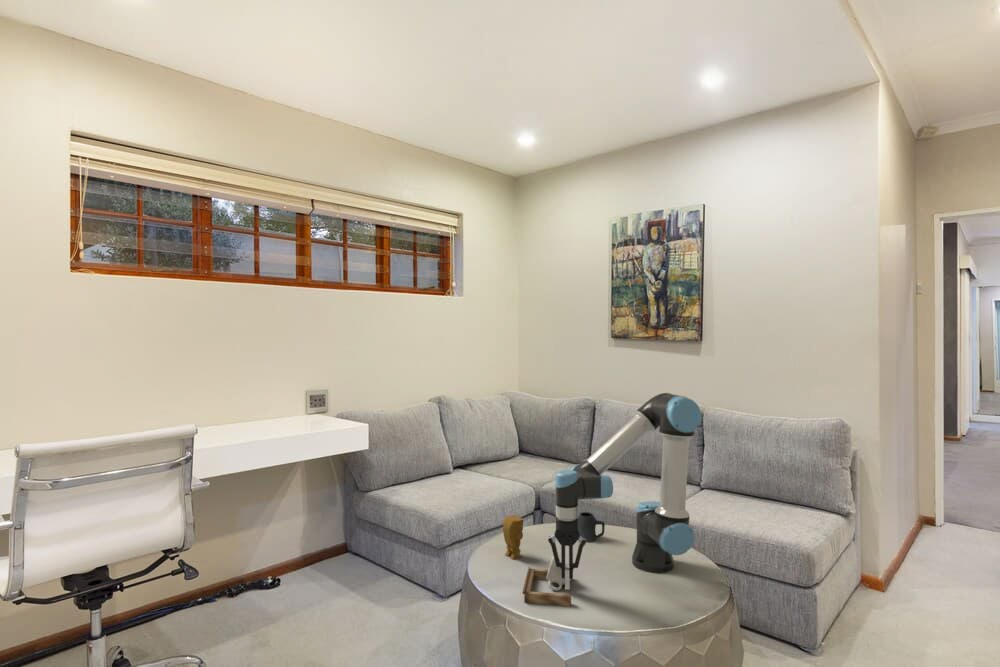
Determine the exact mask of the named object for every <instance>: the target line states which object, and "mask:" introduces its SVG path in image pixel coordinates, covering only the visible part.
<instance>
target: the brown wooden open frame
mask: <svg viewBox="0 0 1000 667" xmlns="http://www.w3.org/2000/svg"><path fill="white" fill-rule="evenodd" d="M548 570H549V569H542V568H531V566H528V568H527V571H526V572H527V573H526V577H525V581H524V585H523V588H522V595H524V598H523V599H524V601H523V602H524V603H527V604H540V605H553V606H563V605H564V606H565V607H571V606H572V594H568V593H557V592H541V591H540V592H539V591H532V590H533V586H534V580H546V577H547V573H548ZM571 581H573V578H572V579H571V580H570V582H571Z"/></svg>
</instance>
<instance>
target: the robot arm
mask: <svg viewBox="0 0 1000 667" xmlns="http://www.w3.org/2000/svg"><path fill="white" fill-rule="evenodd" d="M634 413H635V414H634V416H633V417H632V418H631V419H630V420H629V421H627V422H626V423H625V425H623V426H622V427H621V428H620V429H618V431H617V432H615V433H614V434H613V435H612V436H611V437H610V438H609V439H608V440H607V441H605V442H604V443H603V444H602V445H601V446H600V447H599V448H597V450H595V452H594V453H592V454H591V455H590V456H588V458H587V459H586V460H584V461H583V462H582V463H579V464H575V465H573V466H572V467H571V468H570V469H562V470H558V471H557V472H556V474H555V485H554V486H555V517H556V518H555V530H554V534H553V535H549V536H548V539H547V541H548V543H549V545H550V546H551V550H552V551H551V552H552V554H553V556H554V559H555V563H556V566H557V567H560V568H561V570H562V578H565V585H564V590H568V591H570V588H571V587H570V584H571V581H570V579H572V580H573V578H574V569H578V568H579V565H580V561H581V556H582V553H583V548H584V546H585V545H586V544H587V542H586V538H583V537H581V536H580V533H579V531H578V517H579V500H595V499H596V500H597V499H598V500H599V499H601V500H603V499H608V498H610V497H612V496H613V494H614V484H613V480H612V478H611V477H610V476H609V475H606V474H604V473H606V471H608V469H609V468H611V467H612V466H613V465H614V464H615V463H616V462H617V461H619V459H621V458H622V457H623V456H624V455H625V454H626V453H627V452H628V451H629V450H631V449H632V448H633V447H634V446H635V445H636V444H637V443H638V442H639V441H640V440H642V439H643V438H644V437H645V436H646V435H647V434H648V433H650V432H655V431H656V430H657V429H659V431H658V432H659V434H660V435H661V436H662V438H663V439H662V456H661V457H662V459H661V475H660V489H659V490H660V493H659V501H652V500H649V501H642V502H639V503H638V504H637V505H636V513H635V514H636V544H635V546H634V549H633V551H632V552H633V553H632V556H631V564H632V565H633V566H634V567H635V568H636V569H638V570H640V571H644V572H647V573H655V574H663V573H667V572H671V571H672V570H673V569H674V567H675V559H674V556H681V555H684V554H686V553H687V552H688V551H689V550H690V549H691V548H692V547H693V545H694V542H695V539H696V538H695V533H694V530H693V529H692V527H691V525H690V513H689V512H688V511H687V509H686V504H687V503H686V502H687V500H686V499H687V482H688V466H689V447H690V440H691V439H693V438H694V437H695V431H696V430H697V428H698V427H699V426H700V424H701V421H702V412H701V408H700V406H699V405H698V404H697V402H696V401H694V400H693V399H692V398H689V397H687V396H683V395H679V394H678V395H677V394H673V393H668V392H663V393H658V394H656V395H654V396H653V397H651V398H649V399H648V400H647V401H646V402H644V404H643V405H641V406H640V407H639V408H637V410H635V412H634ZM578 539H579V541H578ZM556 541H557V542H558V543H559V544H560V545H561V547H560V548H561V549H560V550H561V553H560V554H561V558H559V557H560V556H559V553H558V550H557V549H558V548H557V546H556ZM577 542H578V544H579V545H578V548H577V553H576V555H575V560H574V547H573V546H574V545H575V544H576V543H577ZM566 546H567V547H568V553H569V554H568V564H569V567H565V562H566ZM559 559H560V560H561V562H560V560H559Z"/></svg>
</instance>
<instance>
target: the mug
mask: <svg viewBox="0 0 1000 667" xmlns="http://www.w3.org/2000/svg"><path fill="white" fill-rule="evenodd" d="M577 518H578V531H579V533H580V536H581V537H583V538H586V543H594V542H596V541H597V540H598V539H597V538H602V537H603V536H604V534H605V521H604V520H603V521H602V520H597V518H595V516H594V514H593V512H589V511H583V512H580V513H579V514H578V517H577ZM597 525H601V532H600V533H599V534H596V526H597ZM577 542H579V539H578V540H577Z"/></svg>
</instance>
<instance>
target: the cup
mask: <svg viewBox="0 0 1000 667" xmlns="http://www.w3.org/2000/svg"><path fill="white" fill-rule="evenodd" d="M559 560H560V562H561V558H559ZM565 567H569V562H566V561H565ZM547 570H548V573H547V577H546V579H545V580H546V581H547V582H548V587H549V588H550V589H551V590H552V591H556V592H558V591H561V589H562V588H563V585H564V586H565V578H562V570H561V568H560V567H557V566H556V563H555V559H554V555H553V556H552V558H551V560H550V563H549V566H548V569H547ZM570 580H571V579H570ZM552 583H556V584H557V585H558V587H555V586H554V585H553V584H552Z"/></svg>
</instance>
